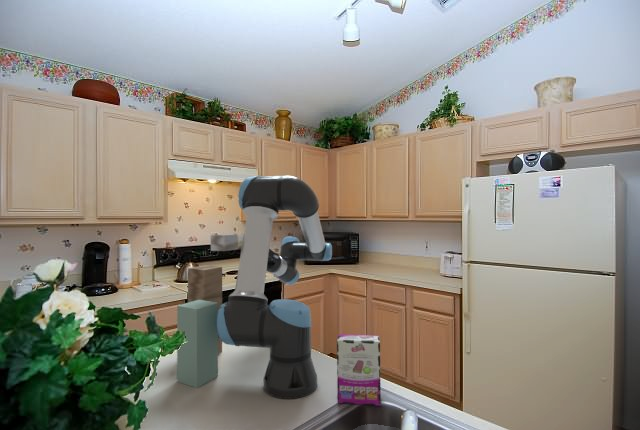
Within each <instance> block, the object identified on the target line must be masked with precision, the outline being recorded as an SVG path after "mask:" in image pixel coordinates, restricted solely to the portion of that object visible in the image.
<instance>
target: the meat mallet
mask: <svg viewBox="0 0 640 430" xmlns="http://www.w3.org/2000/svg"><path fill="white" fill-rule="evenodd" d="M238 235H239V234H237V233H236V234H234V233H233V234H232V233H228V234H226V233H225V234H224V233H223V234H210V251H211V252H227V251H229V252H230V251H235V250H236V251H237V250H239V249H241V248H242V242H241V241H238Z"/></svg>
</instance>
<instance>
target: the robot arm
mask: <svg viewBox="0 0 640 430" xmlns="http://www.w3.org/2000/svg"><path fill="white" fill-rule="evenodd" d="M237 196H238V200H237V201H238V206H239V208H240V209H241V210H242V214H243V215H244V216H245V218H246V219H245V226H244V231H243V232H244V233H241V236H240V235H239V234H238V241H241V242H242V248H241V249H238V250H239V251H240V256H239V262H238V269H237V275H236V283H235V287H234V291H233V292H231V293H230V294H229V295H228V298H227V301H226V302H224V303H222V305H221V306H220V309H219V311H218V314H217V331H218V334H219V337H220V339H221V340H222V344H223V343H224V344H226V345H230V346H235V347H248V348H249V347H251V348H253V347H254V348H265V349H266V348H267V349H269V360H268V364H267V367H266V370H265V373H264V377H263V389H264V391H265V392H266V393H267V394H268V395H270V396H272V397H275V398H279V399H286V400H287V399H289V400H290V399H296V398H297V399H299V398H302V397H305V396H307V395H310V394H311V393H313V392H314V391H315V390H316V388H317V386H318V375H317V372H316V369H315V366H314V362H313V358H312V345H311V344H312V324H313V323H312V317H311V308H310V307H309V306H308V305H307V304H305V303H303V302H301V301H298V300H294V299H287V298H284V299H280V298H279V299H274V300H272V301H271V302H270V303H269V304H268V302H269V300H268V298H267V296H266V295H265V294H264V292H265V285H266V277H267V273H270V274H271V275H272V276H273V277H274V278H277V279H278V280H279V281H281V282H282V283H284V284H285V285H288V286H292V285H294V284H296V283H297V282H298V280H299V279H300V273H299V271H298V269H297V263H298V261H316V262H317V261H320V262H323V261H324V262H325V261H327V262H328V261H330V260H332V256H333V245H332V244H331V242H326V240H325V236H324V232H323V229H322V224H321V220H320V215H319V212H318V211H319V208H320V204H319V199H318V196H317V195H316V193H315V192H314V190H313V189H312V187H311V186H310V185H309V184H308V183H306V182H305V181H304V180H302V179H301V178H299V177H296V176H293V175H255V176H248V177H246V178H244V179H243V181H242V182H241V184H240V186H239V189H238V195H237ZM280 211H291V212H292V213H293V215H294V216H295V217H297V219H298V223H299V226H300V229H301V232H302V235H303V238H304V241H305V242H301V241H300V240H299V238H297V237H295V236H294V237H293V236H291V235H290V236H289V235H288V236H285V237H284V238H283V239H282V242H281V246H280V251H279V253H277V252H275V251H273V250H272V249H270V245H271V238H272V230H273V223H274V221H275V220H277V219H278V217H279V212H280ZM233 234H237V233H235V232H234V233H233Z"/></svg>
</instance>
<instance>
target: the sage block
mask: <svg viewBox="0 0 640 430" xmlns="http://www.w3.org/2000/svg"><path fill="white" fill-rule="evenodd" d="M176 308H177V310H176V314H177V315H176V317H177V318H176V319H177V320H176V323H177V324H176V326H177V327H176V328H177V330H176V331H178V330H180V331H185V336H186V340H187V341H188V342H187V343H184V344H182V345H181V347H180V349H179V350H177V349H176V353H177V355H176V356H177V357H176V363H177V364H176V365H177V366H176V367H177V370H176V372H177V373H176V375H177V377H176V378H177V379H176V382H178V383H181V384H183V385H186V386H190V387H192V388H194V389H195V388H196V389H198V388H200V387H201V386H203V385H205V384H207V383H208V382H210V381H212V380H214V379H216V378H217V377H219V354H218V331H217V314H218V303H216V302H210V301H204V300H196V301H192V302H189V303H188V302H186V303H182V304H178V305H176Z"/></svg>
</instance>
